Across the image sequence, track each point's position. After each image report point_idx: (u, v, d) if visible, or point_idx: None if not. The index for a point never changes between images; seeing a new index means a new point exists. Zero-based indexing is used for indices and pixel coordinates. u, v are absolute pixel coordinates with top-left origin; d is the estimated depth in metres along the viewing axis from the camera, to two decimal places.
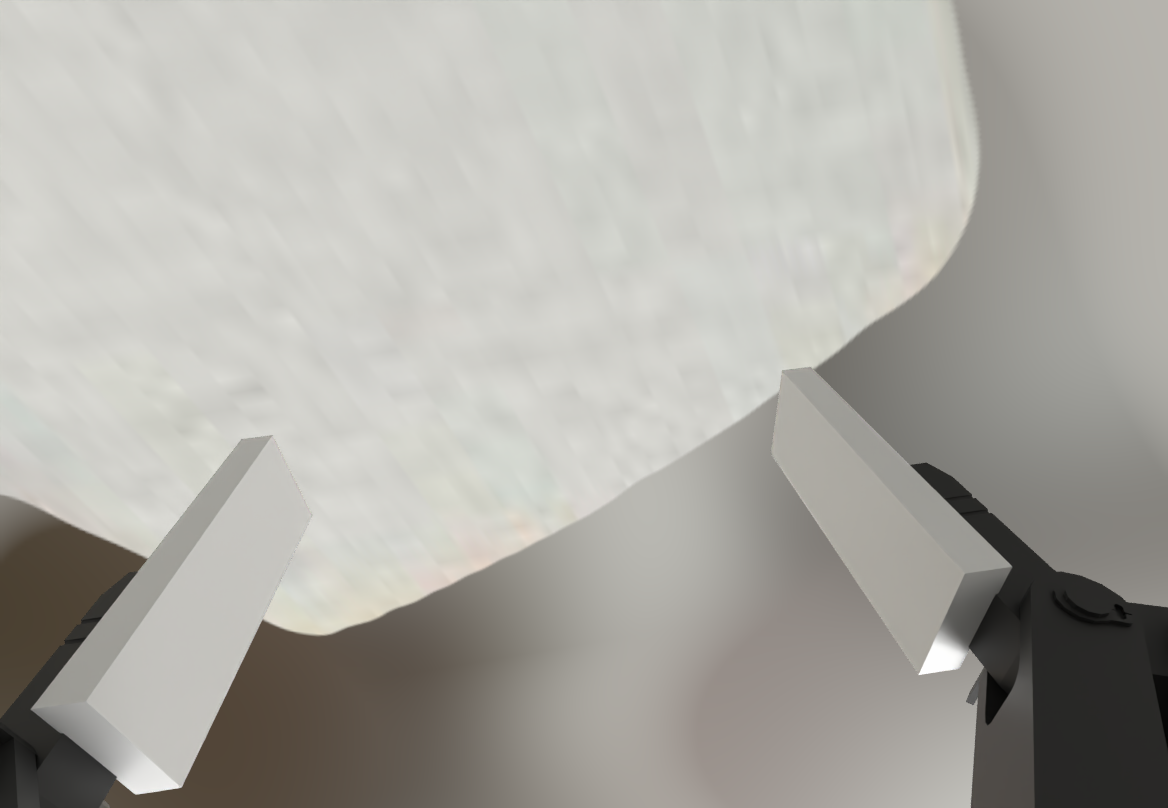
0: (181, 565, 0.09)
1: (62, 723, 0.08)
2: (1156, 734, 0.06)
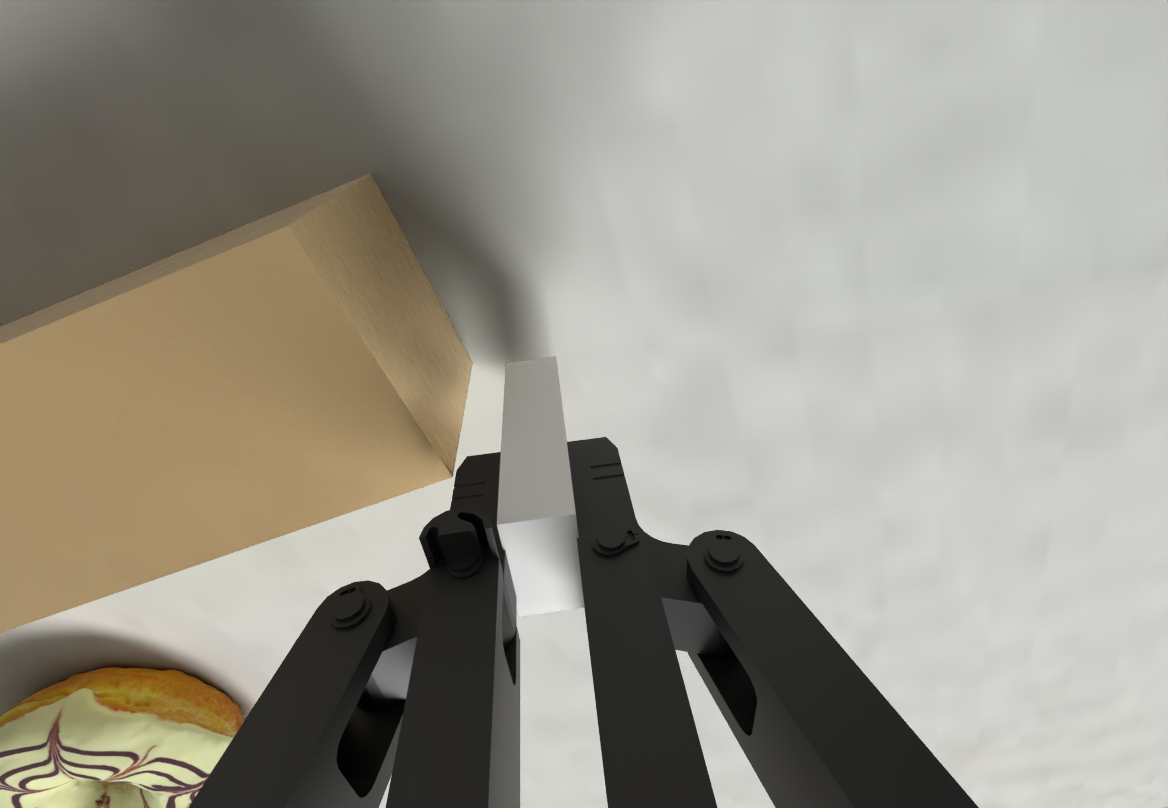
0: (532, 442, 0.12)
1: (510, 540, 0.10)
2: (665, 621, 0.08)
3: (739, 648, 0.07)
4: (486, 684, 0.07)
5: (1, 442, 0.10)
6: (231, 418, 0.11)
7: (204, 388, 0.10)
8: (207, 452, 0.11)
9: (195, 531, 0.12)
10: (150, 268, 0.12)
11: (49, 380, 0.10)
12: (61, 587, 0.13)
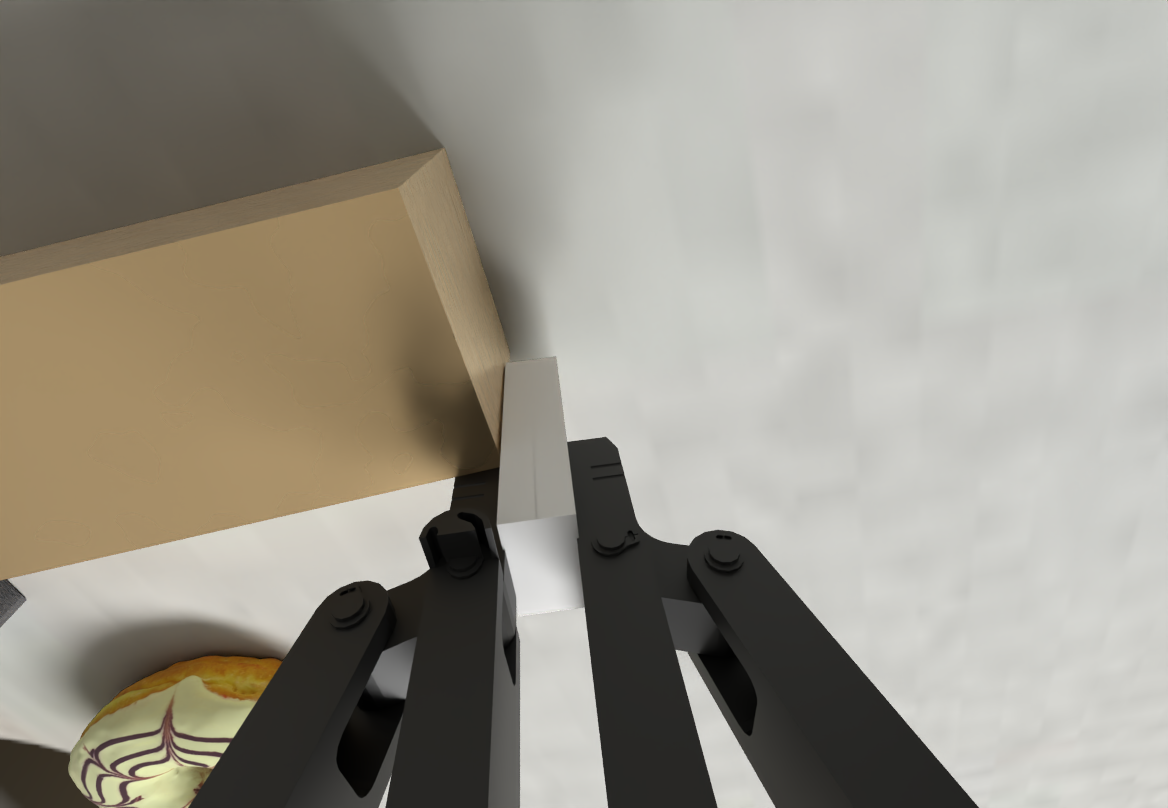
0: (532, 442, 0.12)
1: (509, 539, 0.10)
2: (665, 621, 0.08)
3: (739, 648, 0.07)
4: (486, 684, 0.07)
5: (32, 377, 0.10)
6: (290, 379, 0.10)
7: (269, 344, 0.10)
8: (255, 413, 0.10)
9: (223, 495, 0.11)
10: (204, 213, 0.12)
11: (103, 315, 0.09)
12: (59, 542, 0.12)
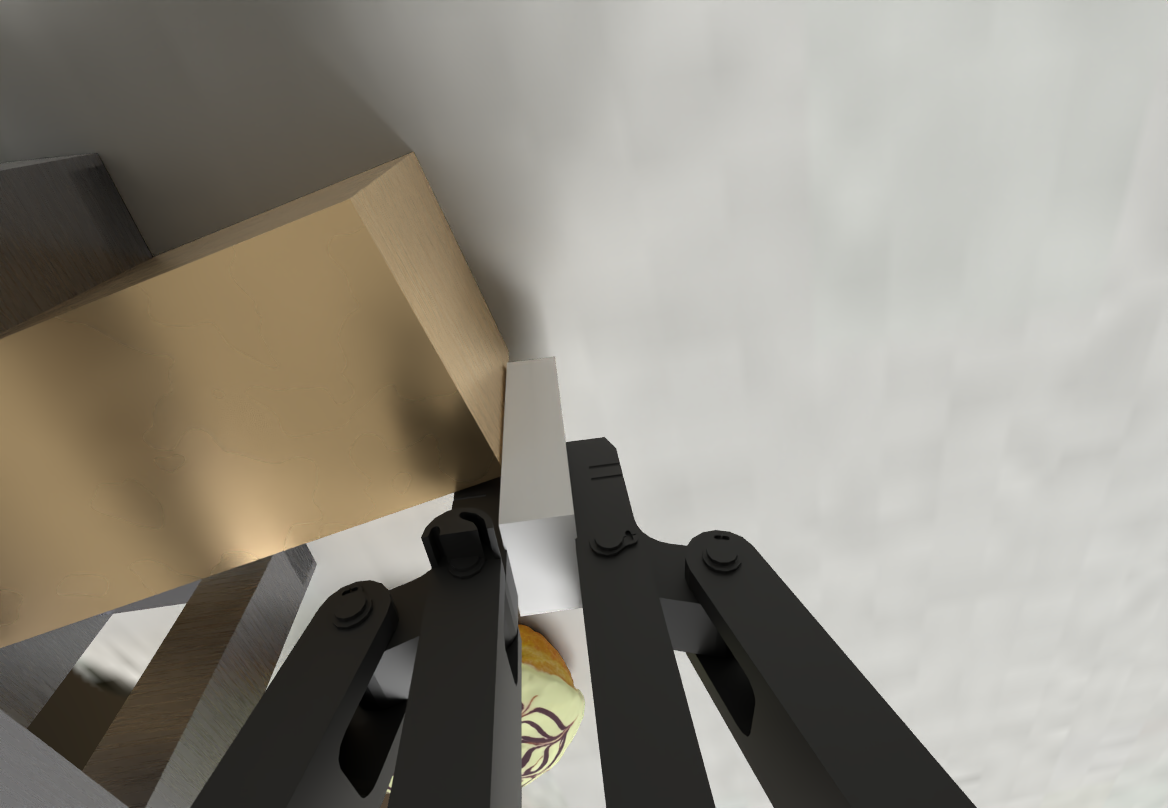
0: (533, 442, 0.12)
1: (511, 539, 0.10)
2: (663, 620, 0.08)
3: (737, 648, 0.07)
4: (488, 684, 0.07)
5: (23, 437, 0.10)
6: (274, 410, 0.10)
7: (247, 377, 0.09)
8: (246, 448, 0.10)
9: (229, 534, 0.11)
10: (178, 252, 0.12)
11: (79, 368, 0.09)
12: (80, 595, 0.12)
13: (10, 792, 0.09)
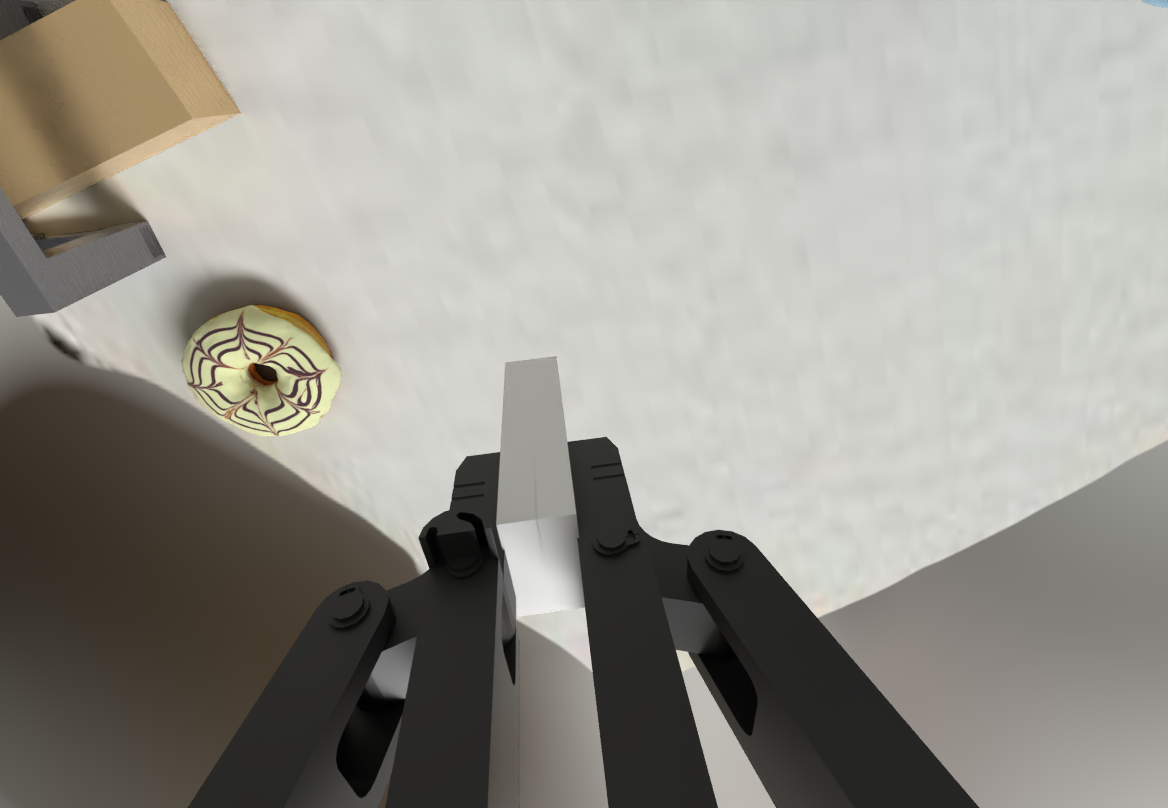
0: (531, 442, 0.12)
1: (509, 540, 0.10)
2: (665, 620, 0.08)
3: (740, 648, 0.07)
4: (486, 684, 0.07)
5: (4, 89, 0.27)
6: (92, 79, 0.27)
7: (80, 63, 0.27)
8: (85, 99, 0.27)
9: (87, 146, 0.29)
10: None
11: (21, 57, 0.26)
12: (32, 179, 0.29)
13: None
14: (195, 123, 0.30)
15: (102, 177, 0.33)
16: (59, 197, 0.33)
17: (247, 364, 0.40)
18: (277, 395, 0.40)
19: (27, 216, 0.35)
